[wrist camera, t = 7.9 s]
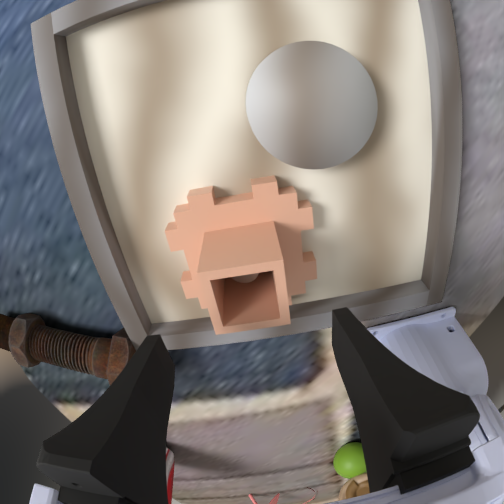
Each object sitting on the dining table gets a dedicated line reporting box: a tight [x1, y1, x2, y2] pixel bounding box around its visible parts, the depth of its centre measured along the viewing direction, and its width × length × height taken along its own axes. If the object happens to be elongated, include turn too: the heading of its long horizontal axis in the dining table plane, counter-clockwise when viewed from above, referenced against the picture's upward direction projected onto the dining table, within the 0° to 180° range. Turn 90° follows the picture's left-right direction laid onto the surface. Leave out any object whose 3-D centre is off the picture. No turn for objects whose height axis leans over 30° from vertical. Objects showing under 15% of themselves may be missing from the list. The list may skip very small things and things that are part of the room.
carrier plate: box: [31, 0, 462, 351], centre depth 17 cm, size 24×24×4 cm
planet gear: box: [165, 175, 317, 335], centre depth 18 cm, size 9×9×6 cm
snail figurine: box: [333, 442, 370, 501], centre depth 32 cm, size 5×6×12 cm
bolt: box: [0, 313, 136, 386], centre depth 23 cm, size 6×5×15 cm
